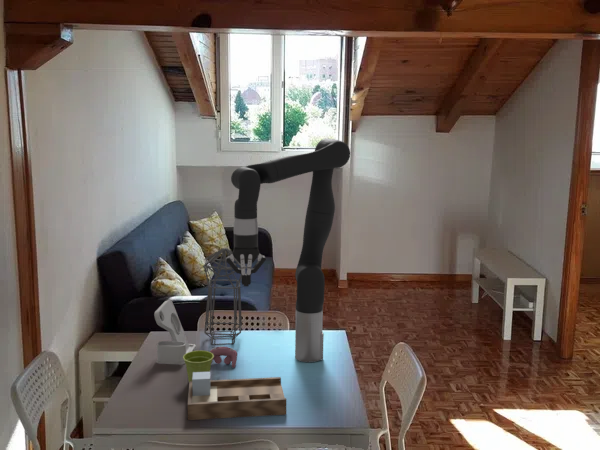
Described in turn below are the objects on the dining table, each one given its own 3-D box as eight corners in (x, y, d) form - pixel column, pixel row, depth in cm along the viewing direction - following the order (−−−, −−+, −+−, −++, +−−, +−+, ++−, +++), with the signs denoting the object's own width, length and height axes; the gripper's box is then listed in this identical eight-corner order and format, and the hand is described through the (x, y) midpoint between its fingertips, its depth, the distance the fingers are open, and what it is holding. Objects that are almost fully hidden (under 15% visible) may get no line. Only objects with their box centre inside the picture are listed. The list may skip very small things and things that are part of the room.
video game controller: (237, 368, 204) (239, 347, 206) (234, 368, 200) (236, 346, 202) (208, 367, 205) (210, 346, 207) (205, 366, 201) (207, 345, 203)
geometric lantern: (203, 333, 233) (204, 243, 227) (244, 334, 234) (246, 244, 229) (200, 348, 217) (201, 252, 212) (244, 348, 219) (247, 253, 213)
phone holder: (184, 365, 203) (183, 313, 200) (154, 363, 204) (153, 312, 201) (196, 346, 220) (195, 298, 217) (168, 345, 221) (167, 297, 218)
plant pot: (219, 378, 193) (219, 352, 191) (205, 391, 184) (204, 363, 182) (193, 374, 196) (192, 348, 194) (178, 386, 187) (177, 359, 185)
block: (210, 387, 179) (210, 371, 178) (210, 395, 174) (210, 378, 174) (193, 388, 179) (192, 372, 178) (192, 396, 174) (192, 379, 173)
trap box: (280, 391, 184) (280, 377, 184) (286, 414, 170) (286, 399, 169) (189, 395, 181) (189, 381, 180) (187, 420, 166) (187, 404, 165)
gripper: (266, 229, 194) (265, 282, 197) (224, 230, 193) (224, 283, 195) (268, 233, 187) (267, 288, 190) (224, 234, 185) (225, 289, 188)
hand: (246, 285), depth 193 cm, fingers closed
